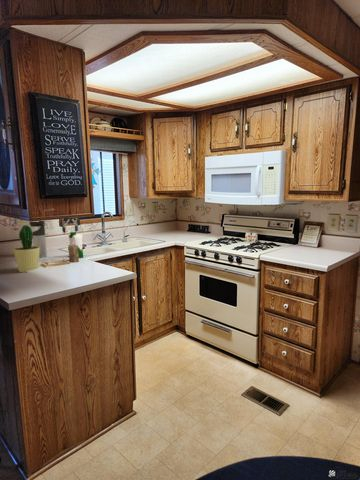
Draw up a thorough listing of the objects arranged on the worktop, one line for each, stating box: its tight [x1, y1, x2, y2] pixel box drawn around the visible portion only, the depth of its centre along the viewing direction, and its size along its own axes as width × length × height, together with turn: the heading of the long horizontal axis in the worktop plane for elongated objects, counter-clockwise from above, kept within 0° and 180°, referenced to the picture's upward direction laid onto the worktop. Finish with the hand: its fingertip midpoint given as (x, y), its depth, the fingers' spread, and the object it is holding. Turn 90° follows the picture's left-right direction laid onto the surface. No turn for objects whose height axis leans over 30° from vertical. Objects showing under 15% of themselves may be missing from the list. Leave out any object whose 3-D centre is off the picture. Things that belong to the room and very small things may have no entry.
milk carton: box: [68, 231, 84, 259], centre depth 243 cm, size 9×9×20 cm
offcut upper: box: [45, 259, 64, 265], centre depth 218 cm, size 3×11×2 cm, turn 140°
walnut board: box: [68, 244, 80, 263], centre depth 226 cm, size 3×10×12 cm, turn 40°
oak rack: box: [40, 259, 71, 268], centre depth 217 cm, size 11×16×2 cm
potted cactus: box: [13, 224, 40, 273], centre depth 203 cm, size 15×15×30 cm
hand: (70, 232), depth 225 cm, fingers open, 8 cm apart
